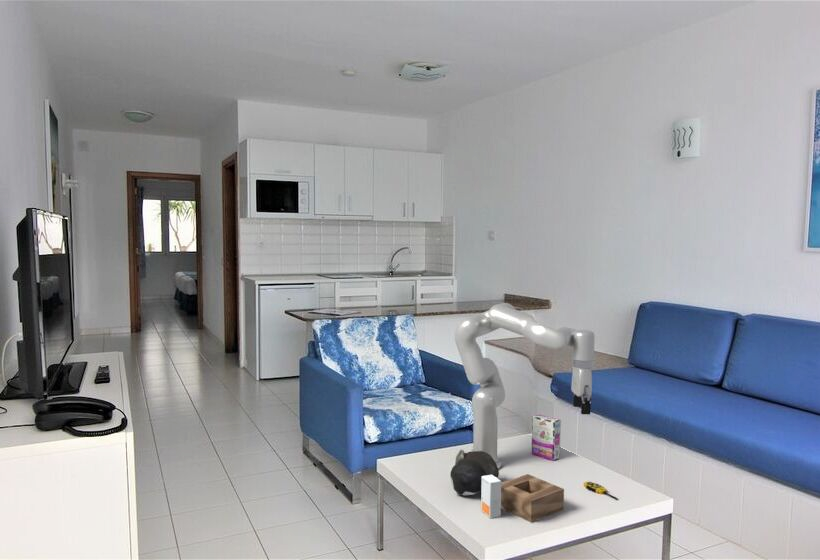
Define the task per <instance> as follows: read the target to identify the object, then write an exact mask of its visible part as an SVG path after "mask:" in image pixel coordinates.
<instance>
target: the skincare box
mask: <svg viewBox="0 0 820 560" xmlns="http://www.w3.org/2000/svg"><path fill="white" fill-rule="evenodd" d="M501 481H502V480H500V479H499V477H498V478H497V477H495V476H493V475H486V476H482V484H481V492H480V493H481V495H480V496H481V497H480V500H481V502H480V509H481V510H480V511H481V512H482V513H484V515H486V516H487V517H488V518H489V519H493V518H499V517H502V516H501V515H502V512H501V511H502V508H501Z"/></svg>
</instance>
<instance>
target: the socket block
mask: <svg viewBox="0 0 820 560" xmlns="http://www.w3.org/2000/svg"><path fill="white" fill-rule="evenodd" d="M564 498H565V488H563V487H560V486H557V485H555V484H554V483H551V482H549V481H546V480H544V479H541V478H539V477H536V476H534V475H531V474H529V473H527V474H524V475H521V476H518V477H514V478H511V479H509V480H506V481H502V483H501V509H503V510H505V511H507V512H509V513H510V514H513V515H516V516H518V517H519V518H521V519H523V520H525V521H527V522H529V523H533V522H536V521H538V520H541V519H543V518H545V517H548V516H550V515H553V514H555V513H558V512H560V511H563V510H564V508H565V506H564V505H565V503H564V502H565V501H564V500H565V499H564Z"/></svg>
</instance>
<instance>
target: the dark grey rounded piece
mask: <svg viewBox="0 0 820 560" xmlns="http://www.w3.org/2000/svg"><path fill="white" fill-rule="evenodd" d="M499 471H500V470H499V469H498V467H497V465H496V463H495V461H494V460H493V458H492V457H491V455H489V454H488V453H486V452H483V451H472V452H470V451H468V452H465V451H464V450H463V449H460V450H459V451H458V452H457V454H456V457H455V463H454V466H452V468H451V471H450V483H451V485H452V487H453V490H454V491H455V492H456V494H457V495H458V496H470V495H471V496H473V495H477V494H478V493H481V484H482V476H486V475H493V476H495V477H497V478H498V479H499V475H500V472H499ZM500 481H501V483H502V482H503V481H502V480H500Z"/></svg>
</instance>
